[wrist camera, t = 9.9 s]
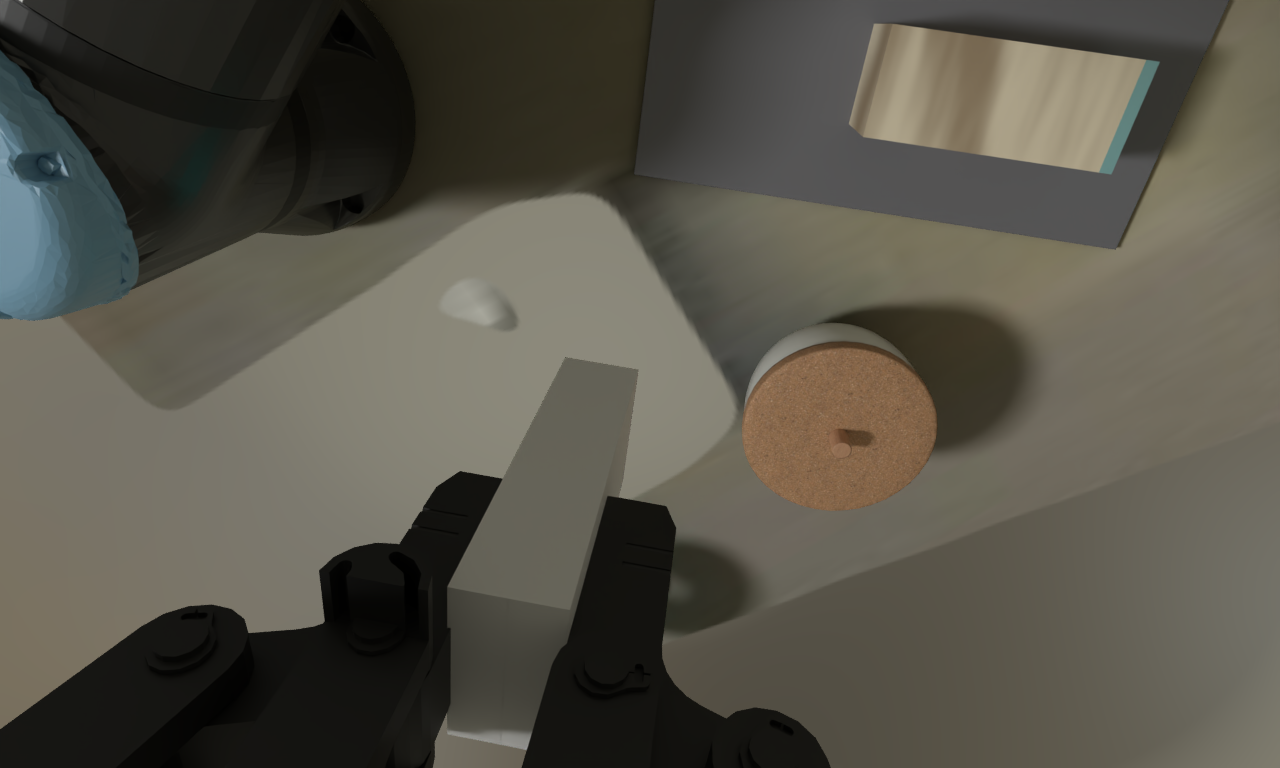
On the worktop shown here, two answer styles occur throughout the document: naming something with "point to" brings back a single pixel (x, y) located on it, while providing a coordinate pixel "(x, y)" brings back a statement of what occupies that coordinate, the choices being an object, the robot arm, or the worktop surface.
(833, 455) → the lidded jar
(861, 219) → the worktop surface
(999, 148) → the birch block
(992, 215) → the rubber mat
